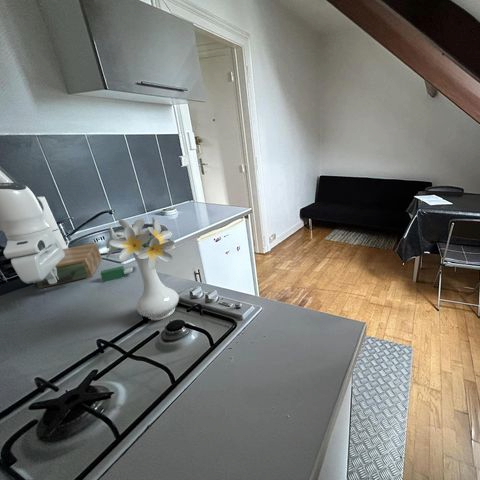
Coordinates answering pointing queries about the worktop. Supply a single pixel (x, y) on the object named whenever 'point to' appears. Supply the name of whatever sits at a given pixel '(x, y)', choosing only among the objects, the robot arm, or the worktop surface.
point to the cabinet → (81, 259)
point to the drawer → (68, 273)
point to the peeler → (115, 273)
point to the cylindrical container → (52, 222)
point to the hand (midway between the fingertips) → (54, 282)
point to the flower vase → (147, 264)
